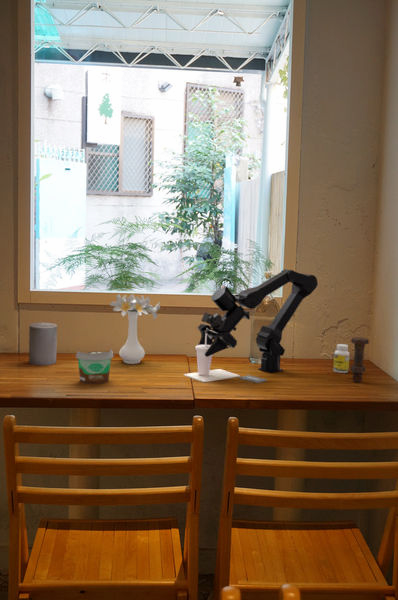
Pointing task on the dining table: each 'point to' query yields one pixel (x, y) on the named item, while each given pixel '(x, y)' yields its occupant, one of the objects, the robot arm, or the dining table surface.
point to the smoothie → (203, 358)
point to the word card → (253, 379)
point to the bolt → (358, 358)
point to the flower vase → (133, 324)
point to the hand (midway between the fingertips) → (201, 353)
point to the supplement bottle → (341, 359)
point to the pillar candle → (42, 343)
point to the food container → (94, 366)
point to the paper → (212, 375)
